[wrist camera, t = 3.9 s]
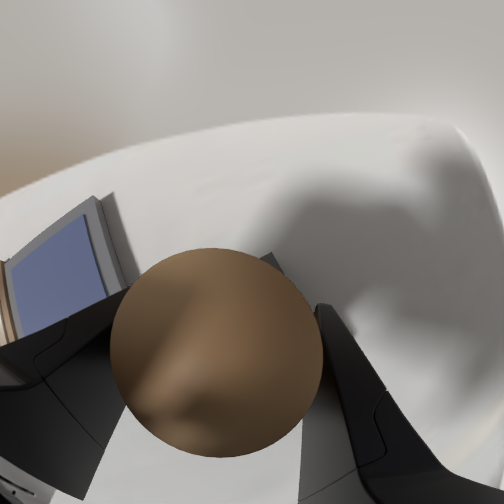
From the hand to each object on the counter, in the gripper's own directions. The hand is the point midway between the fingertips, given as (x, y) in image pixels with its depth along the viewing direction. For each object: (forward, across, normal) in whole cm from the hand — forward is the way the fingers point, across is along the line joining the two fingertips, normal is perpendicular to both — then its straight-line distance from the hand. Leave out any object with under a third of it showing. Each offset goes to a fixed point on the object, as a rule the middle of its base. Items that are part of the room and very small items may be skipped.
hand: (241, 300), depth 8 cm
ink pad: (+3, +12, +6) cm, 14 cm away
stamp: (+4, 0, +6) cm, 7 cm away
